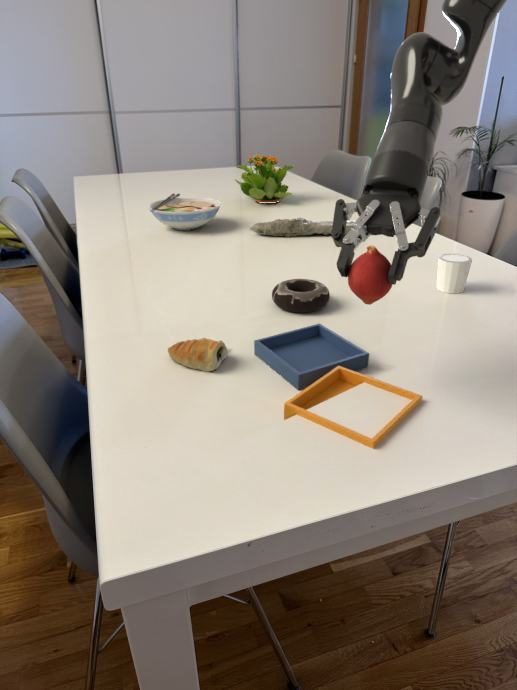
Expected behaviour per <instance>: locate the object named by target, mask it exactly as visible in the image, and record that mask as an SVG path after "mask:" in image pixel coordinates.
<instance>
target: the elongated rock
mask: <svg viewBox="0 0 517 690" xmlns="http://www.w3.org/2000/svg"><path fill="white" fill-rule="evenodd" d="M355 221H356V220H347V223H346V231H345V235H346V234H347V233H348V232H349V231H350V230H351V229H352V226H353V224H354V222H355ZM332 225H333V220H326V221H323V220H322V221H321V220H320V221H313V220H308V219H306V218H304V217H297V218H291V219H289V218H284V219H281V218H277V219H274V220H272V221H265V222H256V223H254V224H253V225H252V231H253V232H254V233H256V234H258V235H266V236H273V237H283V236H284V237H286V238H290V237H297V236H311V235H314V234H318V235H321V234H322V235H324V236H326V235H331V232H332Z"/></svg>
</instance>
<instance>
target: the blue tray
mask: <svg viewBox="0 0 517 690" xmlns="http://www.w3.org/2000/svg"><path fill="white" fill-rule="evenodd" d="M253 342H254V343H253V347H254V349H253V350H254V352H253V353H254V356H256V357H257V356H258V357H259V358H258V357H257V358H258V359H259V360H261V361H262V360H263V361H264V362H265V363H264V362H263V361H262V362H263V363H264V364H265V365H266V366H268V365H269V366H270V367H271V368H270V367H269V366H268V367H269V368H270V369H271V370H273V371H274V370H275V371H276V372H275V371H274V372H275V373H276V374H277V375H279V376H280V375H281V376H282V377H281V376H280V377H281V378H282V379H284V380H285V381H286V382H287V383H288V384H289V385H291V386H292V387H293V388H295V389H296V390H297V391H302V390H304V389H306V388H307V387H309V386H310V385H311V384H313V383H314V382H316V381H317V380H319V379H320V378H321V377H323V376H324V375H326V374H327V373H329V372H330V371H331V370H333V369H334V368H336V367H337V366H341V367H344V368H347V369H349V370H352V371H355V372H359V371H362V370H365V369H368V368H369V361H370V360H369V359H370V353H369V352H368V351H366V350H364V349H363V348H361V347H359V346H358V345H357V344H354V343H353V342H351V341H349V340H348V339H346V338H345V337H343V336H341V335H340V334H339V333H336V332H335V331H333V330H331V329H330V328H328V327H326V326H325V325H323V324H321V323H315V324H312V325H308V326H305V327H304V326H303V327H301V328H300V327H299V328H297V329H293V330H289V331H285V332H281V333H278V334H274V335H270V336H267V337H262V338H258V339H254V340H253Z"/></svg>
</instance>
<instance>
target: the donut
mask: <svg viewBox="0 0 517 690" xmlns="http://www.w3.org/2000/svg"><path fill="white" fill-rule="evenodd" d="M330 298H331V295H330V290H329V288H328V287H327V286H326V285H325V284H324V283H323V282H320V281H318V280H315V279H310V278H309V279H308V278H292V279H287V280H283V281H281V282H279V283H277V284H276V285H275V286H274V287H273V289H272V291H271V300H272V301H273V303H274V304H275V306H277V307H278V308H280V309H281V310H283V311H287V312H291V313H301V314H303V313H310V312H317V311H319V310H321V309H323V308H324V307H325V306H327V304H328V303H329V301H330Z"/></svg>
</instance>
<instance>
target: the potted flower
mask: <svg viewBox="0 0 517 690" xmlns="http://www.w3.org/2000/svg"><path fill="white" fill-rule="evenodd" d="M247 160H248V161H247V163H248V164H249V166H250V167H248V166H247V165H246V164H239V165H238V166H235V168H236V169H241V170H242V171H244V172H242V173H241V179H242V180H243V181H242V182H241V181H239V180H237V179H236V178H234V181H235V182H236V183H237V184H238V185H240V186H239V187H240V190H241V192H242V193H243V194H244V196H245V195H246V196H247V197H249V198H251V199H254V201H257V202H277V201H280V202H281V200H282V199H283V198H286V197H289V196H292V195H293V193H292V192H289V185H287V184H282V182H283V180H284V179H285V177H286V176H287V172H288V171H289V170H291V169H294V168H296V165H293V164H291V165H287V164H285V165H284V166H283V167H282V168H281V167H279V168H278V169H277V167H278V165H277V164H278V163H279V161H278V158H277V156H271V155H267V156H265V155H261V156H260V154H257V153H256V154H254V156H253V157H252V156H249V157H247ZM252 164H253V165H254V166H253V167H252ZM254 172H255V173H254ZM281 198H282V199H281Z"/></svg>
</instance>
